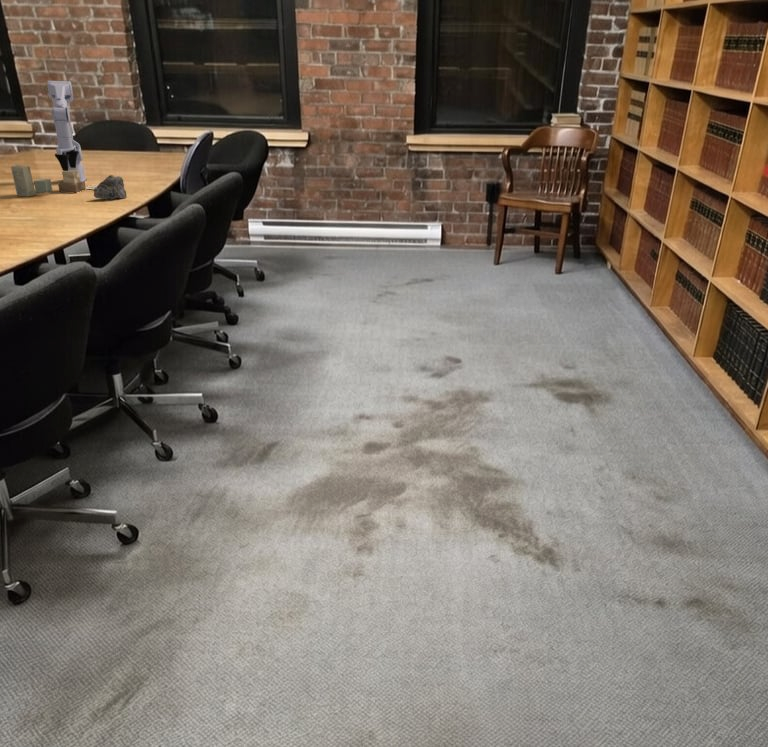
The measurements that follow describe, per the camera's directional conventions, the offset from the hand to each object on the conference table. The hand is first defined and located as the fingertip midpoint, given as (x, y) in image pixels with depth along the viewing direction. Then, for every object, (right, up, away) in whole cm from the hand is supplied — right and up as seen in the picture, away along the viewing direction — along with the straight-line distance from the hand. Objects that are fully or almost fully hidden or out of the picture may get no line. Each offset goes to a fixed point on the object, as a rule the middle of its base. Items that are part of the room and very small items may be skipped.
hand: (69, 169), depth 292 cm
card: (+6, -5, +12) cm, 14 cm away
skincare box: (-15, -14, -8) cm, 22 cm away
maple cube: (0, -5, +2) cm, 6 cm away
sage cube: (-12, -10, +1) cm, 15 cm away
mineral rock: (+21, -15, -6) cm, 26 cm away
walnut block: (0, -9, +4) cm, 10 cm away
